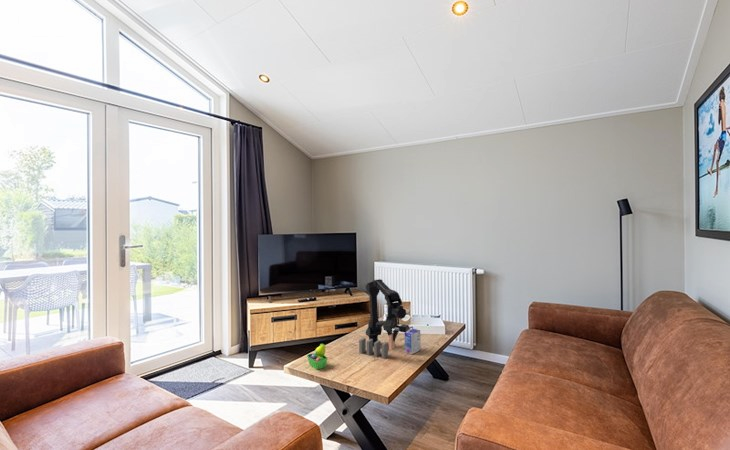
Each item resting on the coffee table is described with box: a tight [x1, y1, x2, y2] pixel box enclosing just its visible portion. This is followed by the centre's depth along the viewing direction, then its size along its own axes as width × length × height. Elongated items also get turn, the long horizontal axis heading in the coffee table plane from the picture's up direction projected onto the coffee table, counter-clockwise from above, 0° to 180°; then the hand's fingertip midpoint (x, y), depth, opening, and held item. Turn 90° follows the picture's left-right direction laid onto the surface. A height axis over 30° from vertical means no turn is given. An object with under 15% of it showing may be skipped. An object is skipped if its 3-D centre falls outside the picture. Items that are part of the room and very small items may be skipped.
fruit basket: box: [306, 343, 328, 371], centre depth 186 cm, size 11×9×11 cm
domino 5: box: [388, 332, 396, 351], centre depth 194 cm, size 5×2×8 cm, turn 150°
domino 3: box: [373, 339, 381, 358], centre depth 199 cm, size 5×2×8 cm, turn 150°
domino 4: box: [381, 341, 389, 360], centre depth 197 cm, size 5×2×8 cm, turn 150°
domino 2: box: [366, 339, 374, 356], centre depth 202 cm, size 5×2×8 cm, turn 150°
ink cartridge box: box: [404, 326, 422, 355], centre depth 205 cm, size 10×6×14 cm, turn 137°
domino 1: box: [358, 337, 367, 355], centre depth 204 cm, size 5×2×8 cm, turn 150°
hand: (392, 341), depth 194 cm, fingers closed on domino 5, 2 cm apart
